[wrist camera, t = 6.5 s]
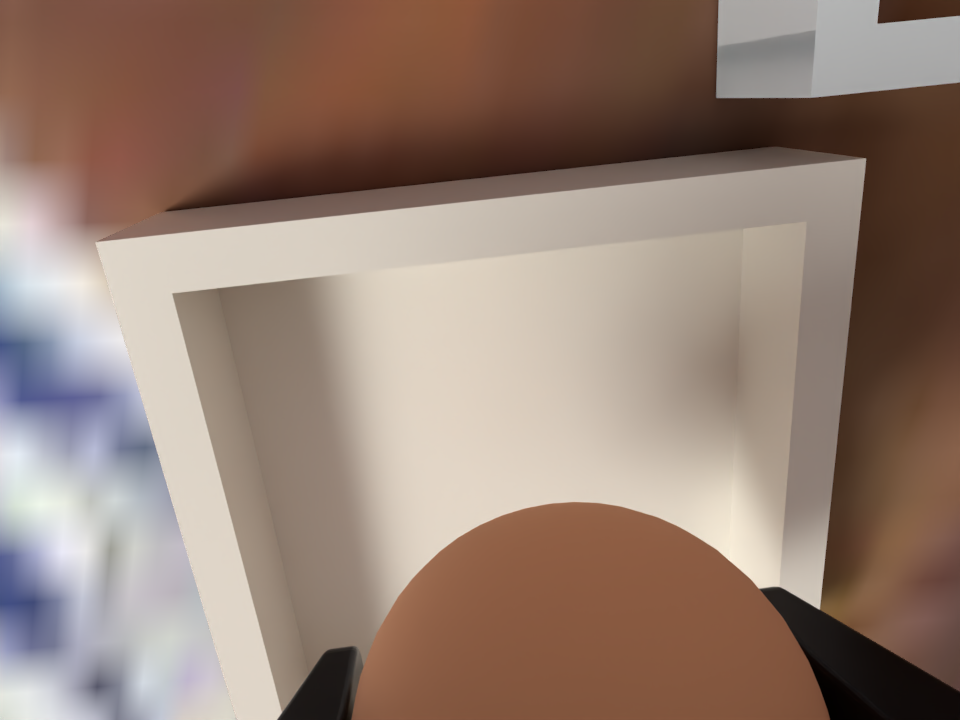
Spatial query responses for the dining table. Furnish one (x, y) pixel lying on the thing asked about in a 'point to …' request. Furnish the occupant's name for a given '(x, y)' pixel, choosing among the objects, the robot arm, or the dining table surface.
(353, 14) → the dining table surface
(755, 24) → the white c-shaped bracket
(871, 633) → the dining table surface
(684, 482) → the dish
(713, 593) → the ball
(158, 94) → the dining table surface
